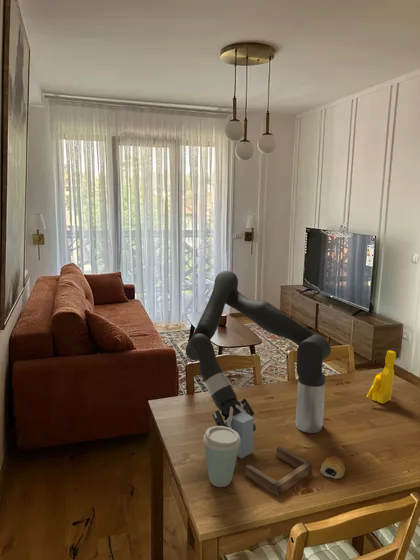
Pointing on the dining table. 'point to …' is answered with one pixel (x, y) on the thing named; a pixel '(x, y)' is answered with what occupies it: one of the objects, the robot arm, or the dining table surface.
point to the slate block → (244, 433)
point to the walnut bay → (287, 481)
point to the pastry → (333, 467)
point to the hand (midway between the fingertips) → (244, 435)
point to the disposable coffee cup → (221, 454)
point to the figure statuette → (384, 380)
